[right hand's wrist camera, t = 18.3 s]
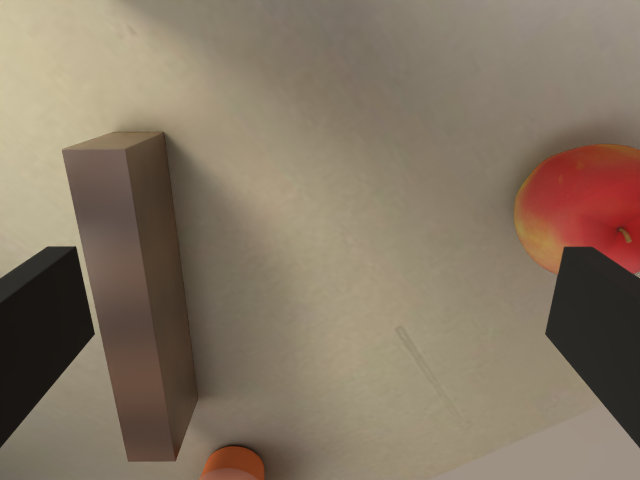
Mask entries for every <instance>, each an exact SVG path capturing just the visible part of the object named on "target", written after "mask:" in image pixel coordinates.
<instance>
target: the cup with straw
mask: <svg viewBox="0 0 640 480" xmlns="http://www.w3.org/2000/svg"><path fill="white" fill-rule="evenodd" d="M199 480H264V465H263V462H262V460H261V459H260V457H259V456H258V455H257V454H255V453H254V452H253V451H251V450H249V449H246V448H243V447H237V446H230V447H224V448H221V449H219V450H217V451H215V452H214V453H213V454H212V455H211V456H210V457H209V458H208V460H207V463H206V465H205V467H204V470H203V472H202V475H201V477H200V479H199Z"/></svg>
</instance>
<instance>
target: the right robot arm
mask: <svg viewBox="0 0 640 480" xmlns="http://www.w3.org/2000/svg"><path fill="white" fill-rule="evenodd" d="M94 334H95V332H94V328H93V323H92V318H91V314H90V309H89V305H88V300H87V295H86V291H85V286H84V281H83V277H82V272H81V267H80V263H79V258H78V253H77V249H76V247H46V248H45V249H43V250H42V251H40V252H39V253H37V254H36V255H34V256H33V257H31V258H30V259H28V260H27V261H25V262H24V263H22V264H21V265H19V266H18V267H17V268H15V269H14V270H12V271H11V272H9V273H8V274H6V275H5V276H3V277H2V278H0V448H1V446H2V445H3V444H4V443H5V442H6V440H7V439H8V438H9V437H10V436H11V434H12V433H13V432H14V431H15V430H16V428H17V427H18V426H19V425H20V424H21V422H22V421H23V420H24V419H25V418H26V416H27V415H28V414H29V413H30V412H31V410H32V409H33V408H34V407H35V406H36V404H37V403H38V402H39V401H40V400H41V398H42V397H43V396H44V395H45V393H46V392H47V391H48V390H49V389H50V387H51V386H52V385H53V384H54V383H55V381H56V380H57V379H58V378H59V377H60V375H61V374H62V373H63V372H64V371H65V369H66V368H67V367H68V366H69V365H70V363H71V362H72V361H73V360H74V359H75V357H76V356H77V355H78V354H79V353H80V351H81V350H82V349H83V348H84V347H85V345H86V344H87V343H88V342H89V341H90V339H91V338H92V337H93V336H94ZM545 334H546V336H547V337H548V338H549V339H550V341H551V342H552V343H553V344H554V345H555V347H556V348H557V349H558V350H559V351H560V353H561V354H562V355H563V356H564V357H565V359H566V360H567V361H568V362H569V363H570V365H571V366H572V367H573V368H574V369H575V371H576V372H577V373H578V374H579V375H580V377H581V378H582V379H583V380H584V381H585V383H586V384H587V385H588V386H589V387H590V389H591V390H592V391H593V392H594V393H595V395H596V396H597V397H598V398H599V400H600V401H601V402H602V403H603V404H604V406H605V407H606V408H607V409H608V410H609V412H610V413H611V414H612V415H613V416H614V418H615V419H616V420H617V421H618V422H619V424H620V425H621V426H622V427H623V428H624V430H625V431H626V432H627V433H628V434H629V436H630V437H631V438H632V439H633V440H634V442H635V443H636V444H637V445H638V446H639V448H640V278H638V277H637V276H635V275H634V274H632V273H631V272H629V271H628V270H626V269H625V268H623V267H622V266H621V265H619V264H618V263H616V262H615V261H613V260H612V259H610V258H609V257H607V256H606V255H604V254H603V253H601V252H600V251H598V250H597V249H595V248H594V247H564V249H563V253H562V258H561V263H560V267H559V272H558V277H557V281H556V286H555V291H554V295H553V300H552V304H551V309H550V314H549V318H548V323H547V328H546V332H545Z"/></svg>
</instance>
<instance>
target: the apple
mask: <svg viewBox="0 0 640 480" xmlns="http://www.w3.org/2000/svg"><path fill="white" fill-rule="evenodd" d="M514 223H515V228H516V232H517V235H518V237H519V239H520V241H521V243H522V245H523V247H524V249H525V250H526V252H527V253H528V254H529V255H530V257H531V258H532V259H533V260H534V261H535V262H536V263H538V264H539V265H540V266H542V267H543V268H545V269H546V270H548V271H550V272H553V273H555V274H558V272H559V267H560V263H561V258H562V253H563V249H564V247H594V248H595V249H597V250H598V251H600V252H601V253H603V254H604V255H606V256H607V257H609V258H610V259H612V260H613V261H615V262H616V263H618V264H619V265H621V266H622V267H623V268H625V269H626V270H628V271H629V272H631V273H632V274H634V273H637V272H639V271H640V150H638V149H635V148H632V147H628V146H623V145H614V144H596V145H588V146H583V147H578V148H575V149H571V150H568V151H564V152H561V153H559V154H556V155H554V156H551V157H549V158H547V159H546V160H544V161H543V162H542V163H540V164H539V165H538V166H537V167H536V168H535V169H534V171H533V172H532V173H531V174H530V175H529V177H528V178H527V179H526V181H525V182H524V183H523V185H522V186H521V188H520V189H519V191H518V193H517V195H516V198H515V203H514Z"/></svg>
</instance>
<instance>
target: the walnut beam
mask: <svg viewBox="0 0 640 480" xmlns="http://www.w3.org/2000/svg"><path fill="white" fill-rule="evenodd" d="M62 153H63V158H64V162H65V167H66V172H67V176H68V181H69V186H70V190H71V195H72V200H73V205H74V209H75V214H76V219H77V223H78V228H79V233H80V238H81V242H82V247H83V252H84V256H85V261H86V266H87V271H88V275H89V280H90V285H91V289H92V294H93V299H94V303H95V308H96V313H97V318H98V322H99V327H100V332H101V336H102V341H103V346H104V351H105V355H106V360H107V365H108V369H109V374H110V379H111V383H112V388H113V393H114V398H115V402H116V407H117V412H118V416H119V421H120V426H121V431H122V435H123V440H124V445H125V449H126V454H127V459H128V461H176V459H177V456H178V453H179V450H180V448H181V445H182V442H183V439H184V437H185V434H186V431H187V428H188V425H189V423H190V420H191V417H192V414H193V412H194V409H195V406H196V403H197V401H198V395H197V387H196V379H195V372H194V364H193V356H192V348H191V340H190V333H189V325H188V317H187V309H186V301H185V294H184V286H183V278H182V270H181V262H180V255H179V247H178V239H177V231H176V223H175V215H174V208H173V200H172V192H171V184H170V176H169V169H168V161H167V153H166V145H165V137H164V132H112V133H109V134H106V135H103V136H100V137H97V138H94V139H91V140H88V141H85V142H82V143H79V144H76V145H73V146H70V147H67V148H64V149H62Z"/></svg>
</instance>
